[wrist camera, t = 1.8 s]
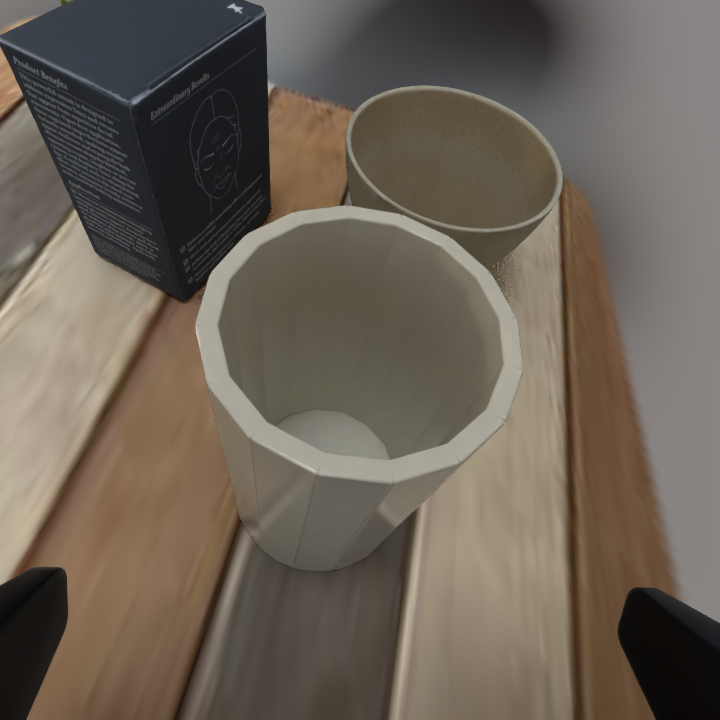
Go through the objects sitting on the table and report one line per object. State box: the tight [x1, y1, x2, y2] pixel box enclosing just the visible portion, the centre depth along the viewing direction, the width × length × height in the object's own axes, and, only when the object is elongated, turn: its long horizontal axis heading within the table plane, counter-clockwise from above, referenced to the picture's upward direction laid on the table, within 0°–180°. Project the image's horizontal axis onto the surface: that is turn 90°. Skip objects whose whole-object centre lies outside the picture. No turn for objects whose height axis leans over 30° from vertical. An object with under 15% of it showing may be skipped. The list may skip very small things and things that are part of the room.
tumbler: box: [195, 205, 523, 572], centre depth 16 cm, size 7×7×12 cm
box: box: [0, 0, 271, 300], centre depth 22 cm, size 8×6×11 cm
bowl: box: [346, 86, 563, 269], centre depth 25 cm, size 10×10×7 cm
